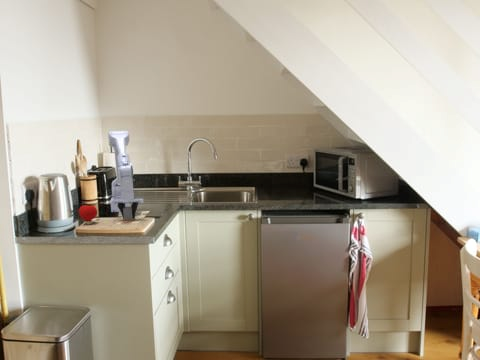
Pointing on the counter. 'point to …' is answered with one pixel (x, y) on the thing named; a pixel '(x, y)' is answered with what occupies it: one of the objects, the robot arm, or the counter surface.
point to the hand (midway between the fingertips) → (129, 218)
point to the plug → (127, 214)
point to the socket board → (137, 218)
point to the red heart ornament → (88, 213)
